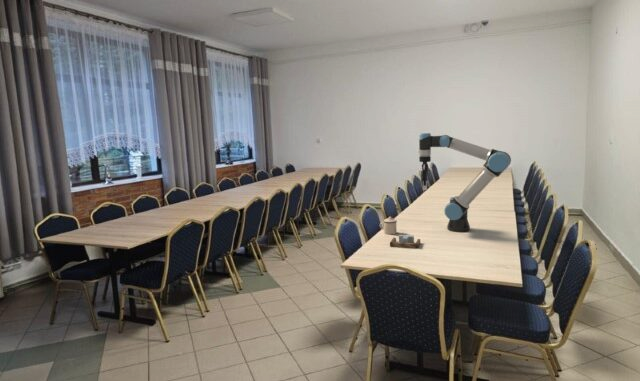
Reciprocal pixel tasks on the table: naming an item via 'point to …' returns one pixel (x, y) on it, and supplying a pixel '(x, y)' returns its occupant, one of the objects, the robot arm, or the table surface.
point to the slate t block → (406, 238)
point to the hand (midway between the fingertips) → (424, 189)
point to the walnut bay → (404, 244)
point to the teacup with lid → (389, 226)
